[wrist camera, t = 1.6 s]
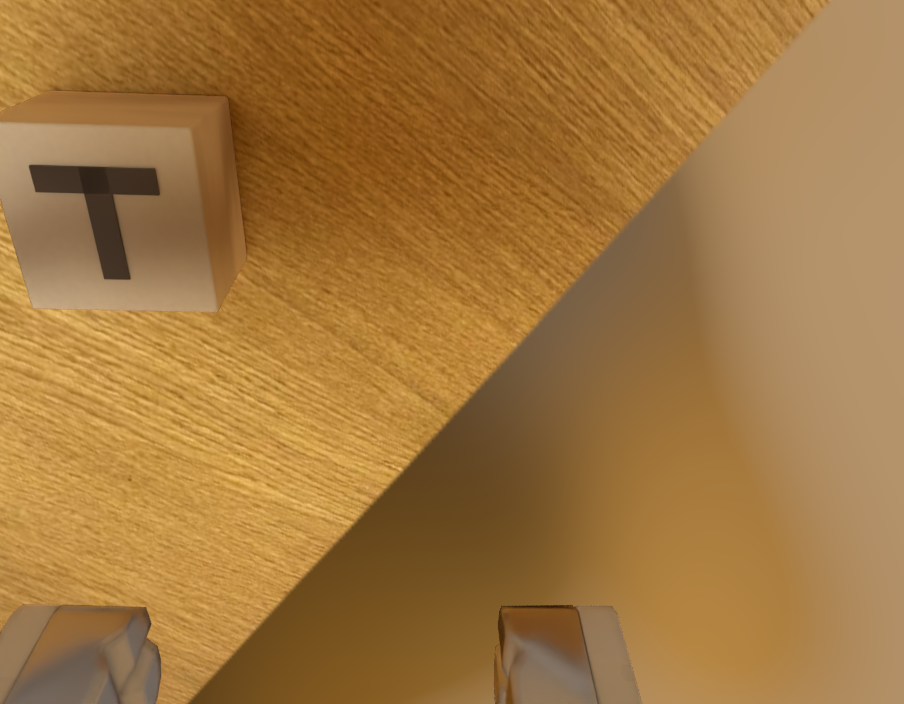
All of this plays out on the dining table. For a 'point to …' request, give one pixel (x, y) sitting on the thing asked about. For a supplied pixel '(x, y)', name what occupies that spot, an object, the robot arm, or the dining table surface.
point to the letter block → (122, 200)
